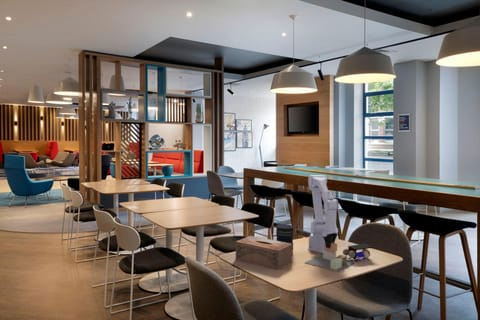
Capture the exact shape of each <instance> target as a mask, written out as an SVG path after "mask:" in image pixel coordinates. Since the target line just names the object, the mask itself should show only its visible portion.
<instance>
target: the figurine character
mask: <svg viewBox="0 0 480 320" xmlns="http://www.w3.org/2000/svg"><path fill="white" fill-rule="evenodd" d="M369 249H373V246H371V245H369V244H367V243H361V244H353V245H348V247H347V248H344V249H343V250H342V255H346V256H347V260H351V261H356V259H362V258H363V259H368V258H369V257H370V256H371V252H370V251H369Z"/></svg>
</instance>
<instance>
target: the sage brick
mask: <svg viewBox="0 0 480 320" xmlns="http://www.w3.org/2000/svg"><path fill="white" fill-rule="evenodd" d="M341 267H342V259H339V258H335V259H333V260H331V265H330V268H331V269H334V270H337V269H339V268H341Z"/></svg>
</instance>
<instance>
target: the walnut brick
mask: <svg viewBox="0 0 480 320" xmlns="http://www.w3.org/2000/svg"><path fill="white" fill-rule="evenodd" d="M336 258H339V259H342V266H343V265H345V264H346V263H347V260H348V259H347V258H348V255H347V256H346V255H344V254H340V255H336Z"/></svg>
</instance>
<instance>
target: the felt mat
mask: <svg viewBox="0 0 480 320" xmlns="http://www.w3.org/2000/svg"><path fill="white" fill-rule="evenodd" d="M351 260H352V259H347V263H346V264H345V265H343V266H342V267H341V268H339V269H337V270H334V269H331V268H330V265H331V260H328V259H324V258H323V253H321V254H320V255H318V256H316V257H313V258H311V259H310V260H307V261H305V262H304V264H307V265H311V266H315V267H318V268H322V269H326V270H330V271H332V272H333V271H334V272H337V273H340V272H341V271H344V270H345V269H348V267H350V266H352V265H354V264H355V263H356V260H352V261H351Z"/></svg>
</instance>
